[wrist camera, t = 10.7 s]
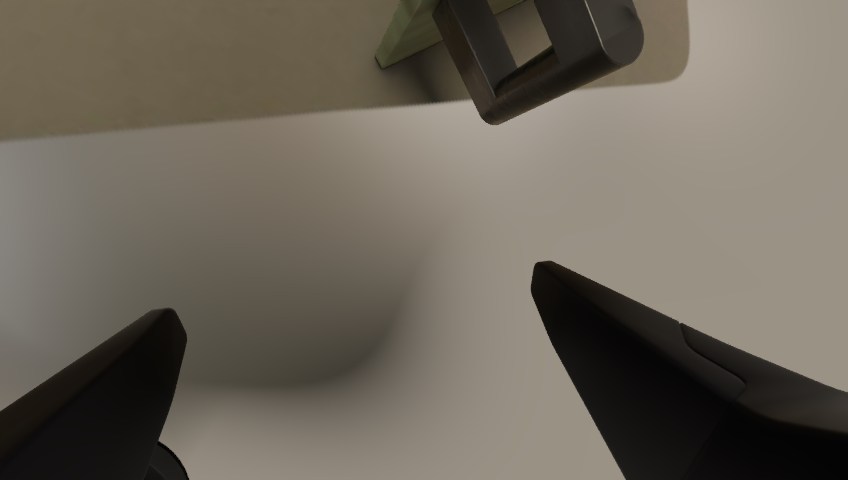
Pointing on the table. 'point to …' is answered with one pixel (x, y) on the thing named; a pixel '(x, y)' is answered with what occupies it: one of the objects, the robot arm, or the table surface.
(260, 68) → the table surface
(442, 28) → the door
